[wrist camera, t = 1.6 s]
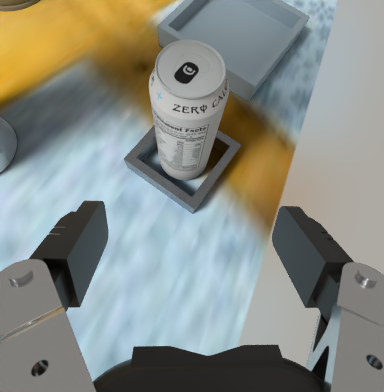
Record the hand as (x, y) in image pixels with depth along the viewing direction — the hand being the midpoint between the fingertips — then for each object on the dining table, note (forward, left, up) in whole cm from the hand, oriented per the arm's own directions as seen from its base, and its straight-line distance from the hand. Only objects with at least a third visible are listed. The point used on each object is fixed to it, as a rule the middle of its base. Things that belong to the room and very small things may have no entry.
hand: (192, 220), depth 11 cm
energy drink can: (-6, +9, -17) cm, 20 cm away
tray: (-12, +30, -17) cm, 36 cm away
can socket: (-6, +9, -17) cm, 20 cm away
